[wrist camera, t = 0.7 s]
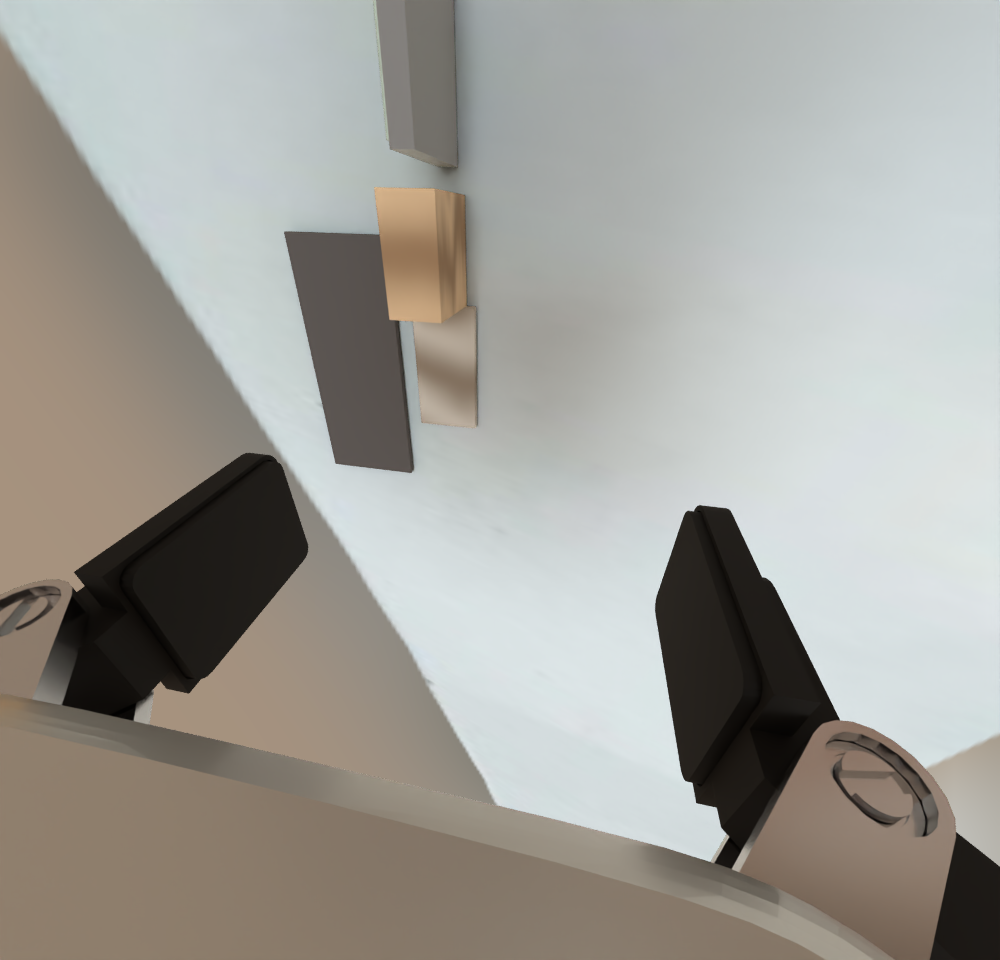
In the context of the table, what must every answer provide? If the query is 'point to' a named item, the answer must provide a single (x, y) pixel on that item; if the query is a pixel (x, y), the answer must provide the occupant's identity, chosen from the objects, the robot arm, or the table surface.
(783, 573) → the table surface
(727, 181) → the table surface
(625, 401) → the table surface
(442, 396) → the tan stepped block piece
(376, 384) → the mat
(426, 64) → the tile
